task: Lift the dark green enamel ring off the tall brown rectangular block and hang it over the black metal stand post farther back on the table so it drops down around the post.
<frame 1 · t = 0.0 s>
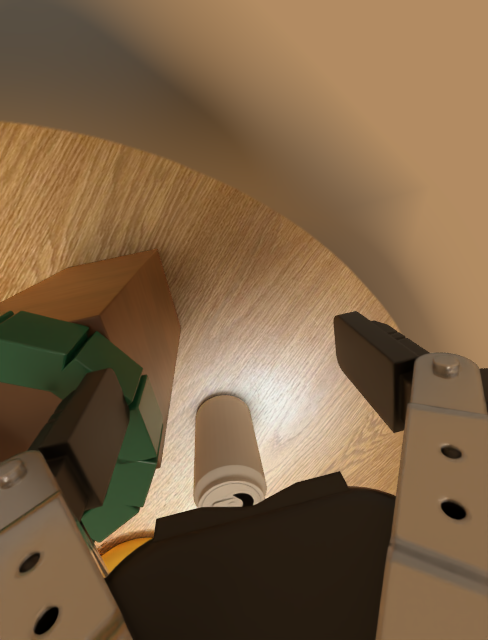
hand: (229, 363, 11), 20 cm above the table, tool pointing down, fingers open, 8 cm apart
brown rectangular block: (127, 299, 30), on the table
teapot: (159, 570, 46), on the table
beverage can: (222, 413, 37), on the table
ring: (39, 423, 14), point 18 cm above the table, touching gripper, brown rectangular block
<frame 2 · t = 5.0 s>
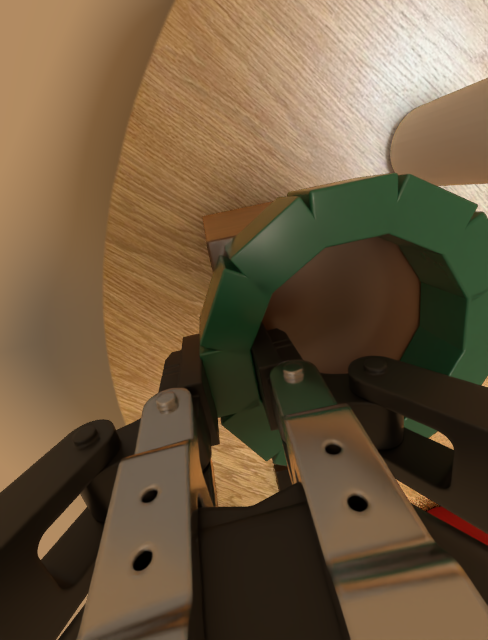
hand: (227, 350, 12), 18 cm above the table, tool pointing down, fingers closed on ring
vase: (433, 519, 48), on the table
brown rectangular block: (256, 253, 29), on the table
beverage can: (417, 148, 28), on the table
post: (311, 480, 41), on the table
ring: (333, 324, 12), point 18 cm above the table, touching gripper
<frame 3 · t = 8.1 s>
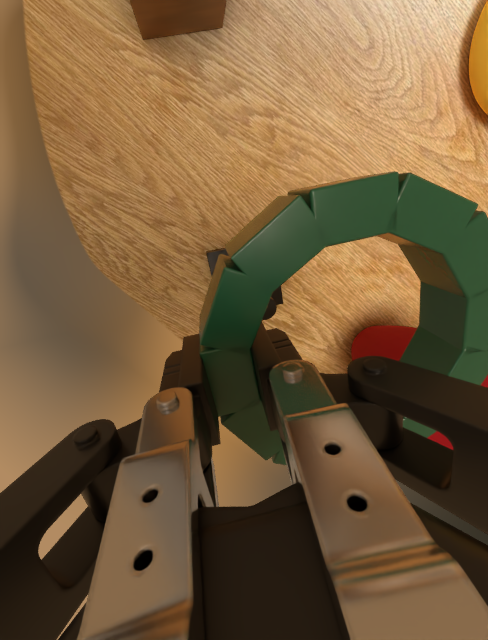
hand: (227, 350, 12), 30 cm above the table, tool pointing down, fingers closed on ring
vase: (370, 344, 50), on the table
post: (245, 277, 43), on the table
ring: (333, 323, 12), point 30 cm above the table, touching gripper
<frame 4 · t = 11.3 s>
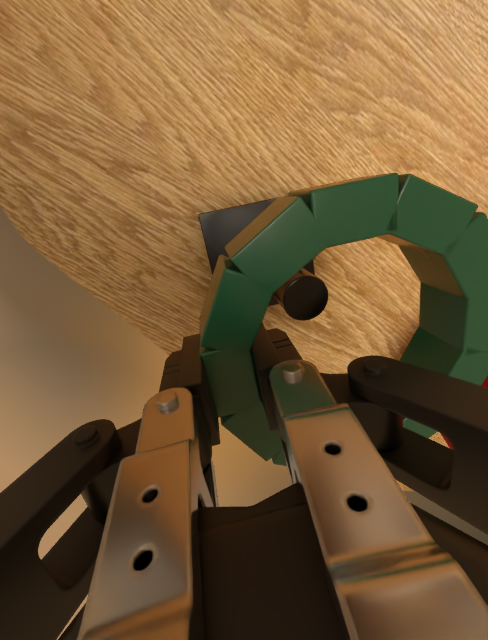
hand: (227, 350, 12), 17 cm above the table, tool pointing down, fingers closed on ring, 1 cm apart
post: (259, 255, 28), on the table
ring: (333, 324, 12), point 17 cm above the table, touching gripper
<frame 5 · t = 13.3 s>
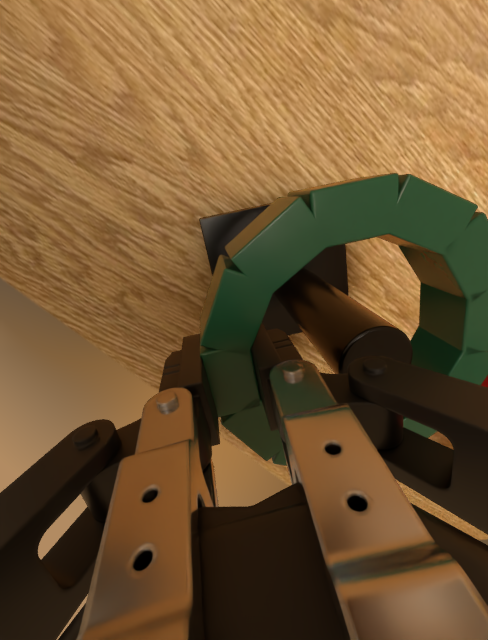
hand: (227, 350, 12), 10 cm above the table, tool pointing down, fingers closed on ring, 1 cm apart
post: (277, 271, 22), on the table
ring: (333, 324, 12), point 10 cm above the table, touching gripper
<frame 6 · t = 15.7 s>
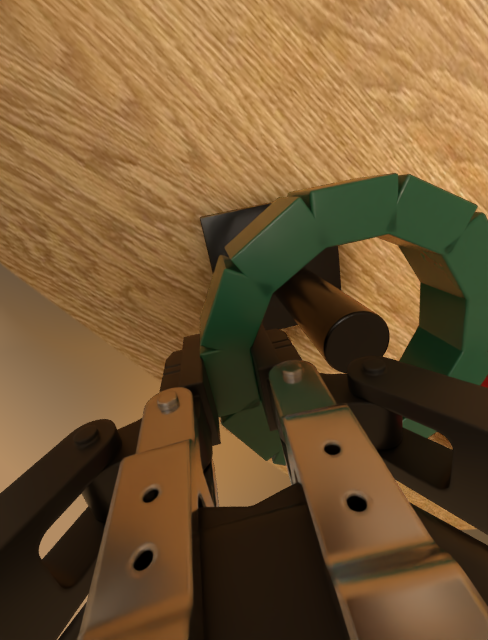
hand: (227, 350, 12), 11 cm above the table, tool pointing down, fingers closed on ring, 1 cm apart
post: (274, 267, 23), on the table
ring: (333, 324, 12), point 11 cm above the table, touching gripper
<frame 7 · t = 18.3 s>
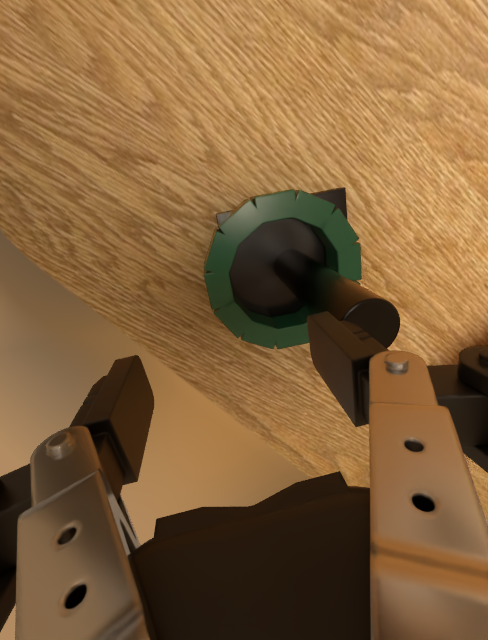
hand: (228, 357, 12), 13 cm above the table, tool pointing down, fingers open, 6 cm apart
post: (286, 262, 24), on the table
ring: (277, 269, 23), point 1 cm above the table, touching post
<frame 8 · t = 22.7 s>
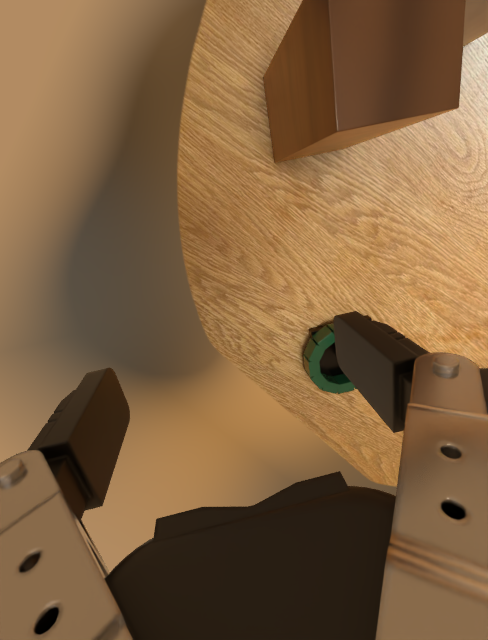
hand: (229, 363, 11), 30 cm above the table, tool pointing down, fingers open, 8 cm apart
brown rectangular block: (304, 115, 35), on the table
beverage can: (438, 24, 34), on the table
post: (340, 348, 47), on the table
ring: (337, 354, 46), point 1 cm above the table, touching post
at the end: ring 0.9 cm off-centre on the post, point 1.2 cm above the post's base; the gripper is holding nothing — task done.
